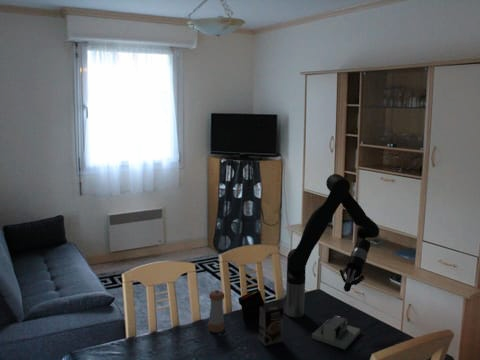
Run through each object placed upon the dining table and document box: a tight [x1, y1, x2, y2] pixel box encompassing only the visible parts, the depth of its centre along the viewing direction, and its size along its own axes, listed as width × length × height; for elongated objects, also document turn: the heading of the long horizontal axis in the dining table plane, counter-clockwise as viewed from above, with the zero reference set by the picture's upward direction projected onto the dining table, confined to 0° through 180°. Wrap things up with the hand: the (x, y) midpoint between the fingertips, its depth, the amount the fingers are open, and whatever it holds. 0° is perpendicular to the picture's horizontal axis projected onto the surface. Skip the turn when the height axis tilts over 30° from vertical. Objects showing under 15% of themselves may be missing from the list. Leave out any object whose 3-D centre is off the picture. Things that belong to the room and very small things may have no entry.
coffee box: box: [258, 302, 285, 347], centre depth 212 cm, size 9×6×16 cm
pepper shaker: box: [208, 289, 225, 333], centre depth 221 cm, size 7×7×19 cm
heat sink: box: [321, 318, 349, 340], centre depth 217 cm, size 10×8×4 cm
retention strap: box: [326, 314, 348, 331], centre depth 216 cm, size 6×1×13 cm
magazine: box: [237, 288, 265, 322], centre depth 232 cm, size 4×13×15 cm, turn 96°
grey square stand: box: [311, 318, 361, 350], centre depth 218 cm, size 16×18×8 cm
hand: (346, 290), depth 223 cm, fingers closed
